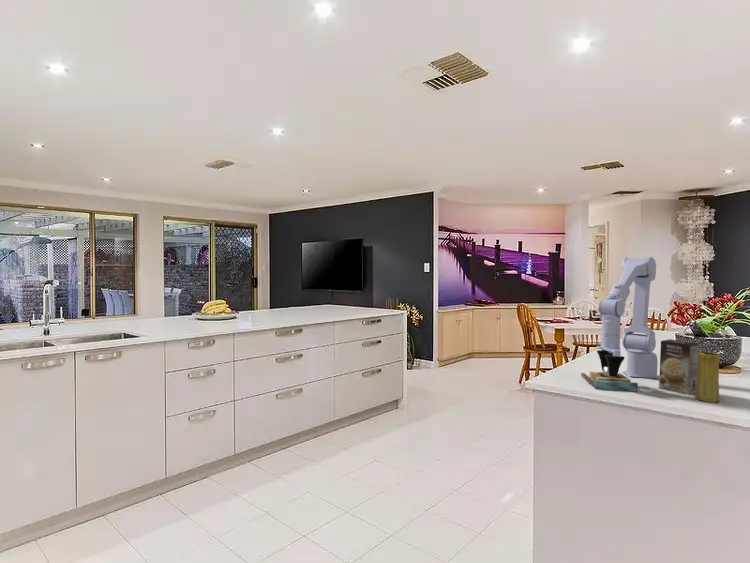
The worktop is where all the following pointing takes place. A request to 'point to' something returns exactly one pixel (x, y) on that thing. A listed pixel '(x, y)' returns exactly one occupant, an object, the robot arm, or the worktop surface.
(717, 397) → the vase
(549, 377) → the worktop surface
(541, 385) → the worktop surface
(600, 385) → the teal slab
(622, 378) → the wooden tray
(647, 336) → the robot arm
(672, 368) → the coffee box
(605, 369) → the cylinder
